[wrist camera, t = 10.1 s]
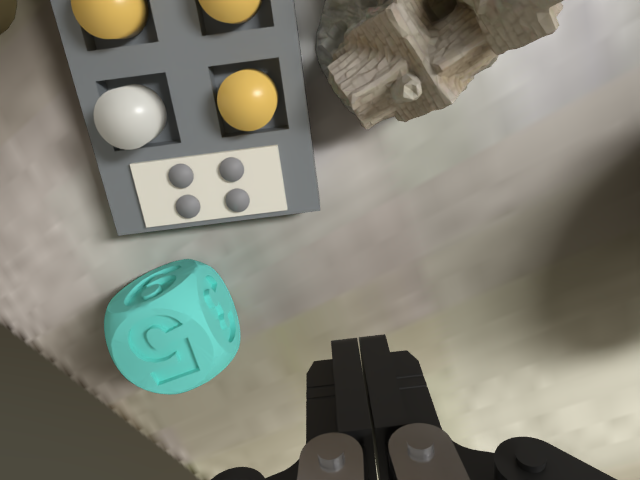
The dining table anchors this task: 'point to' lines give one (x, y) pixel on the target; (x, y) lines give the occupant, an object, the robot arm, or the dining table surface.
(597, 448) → the dining table surface
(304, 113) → the button board
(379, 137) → the dining table surface
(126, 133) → the white button
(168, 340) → the decorative dice
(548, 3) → the ceramic cottage
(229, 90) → the amber button
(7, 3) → the olive rounded cylinder
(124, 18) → the amber button
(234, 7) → the amber button
